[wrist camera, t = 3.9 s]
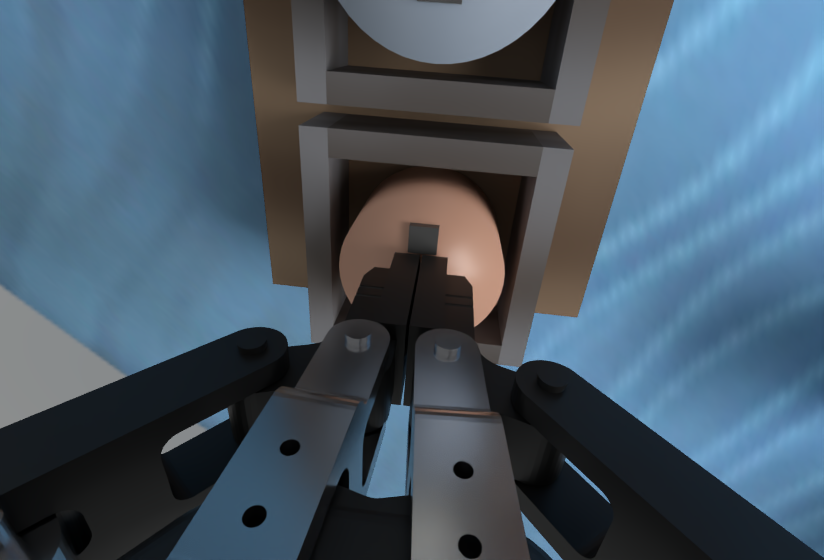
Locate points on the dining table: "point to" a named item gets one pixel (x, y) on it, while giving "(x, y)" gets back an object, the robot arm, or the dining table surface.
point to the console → (450, 143)
